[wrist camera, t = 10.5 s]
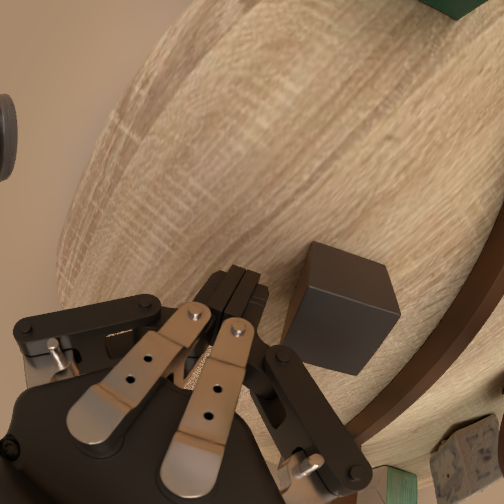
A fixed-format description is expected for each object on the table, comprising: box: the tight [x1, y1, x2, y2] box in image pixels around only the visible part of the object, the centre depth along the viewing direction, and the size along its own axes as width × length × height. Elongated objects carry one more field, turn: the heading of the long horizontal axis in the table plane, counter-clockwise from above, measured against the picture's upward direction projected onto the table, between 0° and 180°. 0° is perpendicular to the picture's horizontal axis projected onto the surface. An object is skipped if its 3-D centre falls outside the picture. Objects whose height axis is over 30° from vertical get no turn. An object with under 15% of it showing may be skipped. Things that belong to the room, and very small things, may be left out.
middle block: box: [280, 241, 401, 376], centre depth 14 cm, size 4×4×4 cm
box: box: [356, 466, 417, 504], centre depth 25 cm, size 7×14×8 cm, turn 49°
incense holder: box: [430, 414, 503, 504], centre depth 15 cm, size 10×8×10 cm
